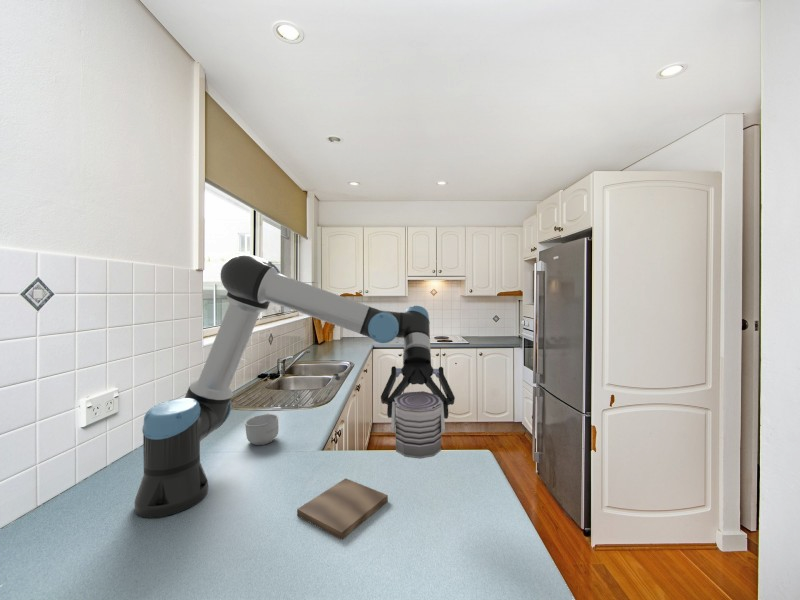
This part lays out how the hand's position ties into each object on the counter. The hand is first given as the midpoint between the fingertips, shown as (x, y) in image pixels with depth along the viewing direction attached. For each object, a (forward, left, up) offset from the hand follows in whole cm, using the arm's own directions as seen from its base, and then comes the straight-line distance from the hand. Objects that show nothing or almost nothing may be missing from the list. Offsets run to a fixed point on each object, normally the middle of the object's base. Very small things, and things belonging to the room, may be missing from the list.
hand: (417, 430), depth 78 cm
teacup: (+4, +66, -19) cm, 69 cm away
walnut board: (-9, +15, -19) cm, 26 cm away
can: (+2, +1, -5) cm, 6 cm away
